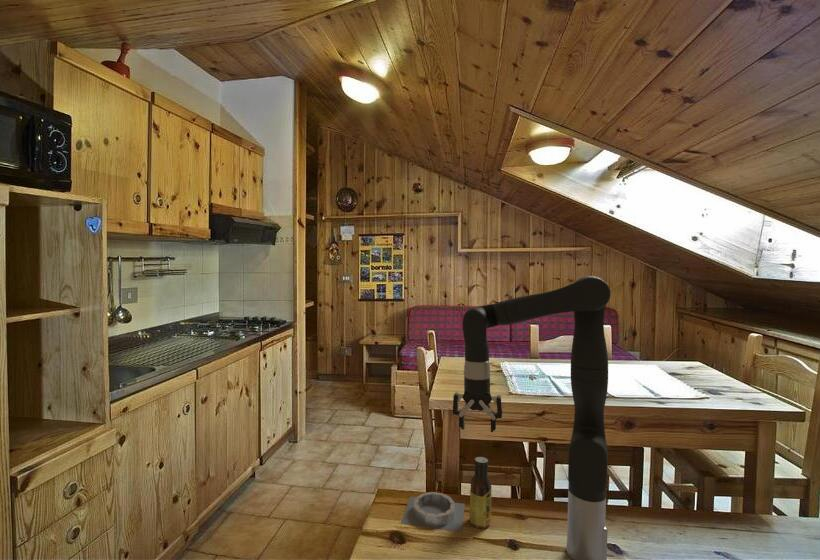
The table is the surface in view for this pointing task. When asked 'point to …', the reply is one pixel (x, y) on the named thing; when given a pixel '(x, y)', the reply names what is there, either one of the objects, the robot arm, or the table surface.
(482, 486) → the sauce bottle
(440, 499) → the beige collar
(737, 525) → the table surface
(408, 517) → the charcoal base
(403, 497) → the table surface
